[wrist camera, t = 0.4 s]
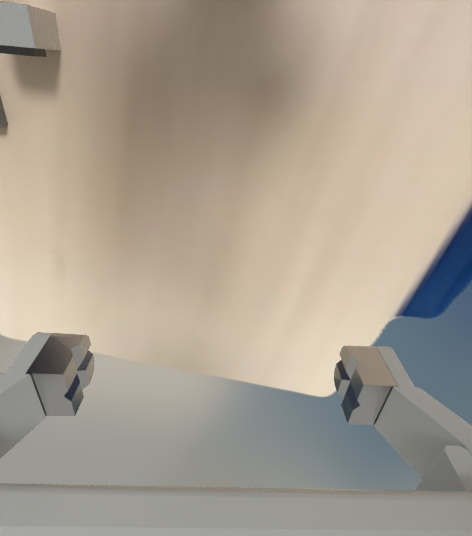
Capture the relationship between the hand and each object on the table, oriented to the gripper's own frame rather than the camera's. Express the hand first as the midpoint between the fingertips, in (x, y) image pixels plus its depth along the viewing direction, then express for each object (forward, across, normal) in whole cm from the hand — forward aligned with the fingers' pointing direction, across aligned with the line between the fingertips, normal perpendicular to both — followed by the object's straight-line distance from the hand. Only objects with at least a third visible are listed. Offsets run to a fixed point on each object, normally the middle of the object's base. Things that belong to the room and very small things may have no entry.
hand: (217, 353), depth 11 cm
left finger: (+46, +25, -10) cm, 53 cm away
